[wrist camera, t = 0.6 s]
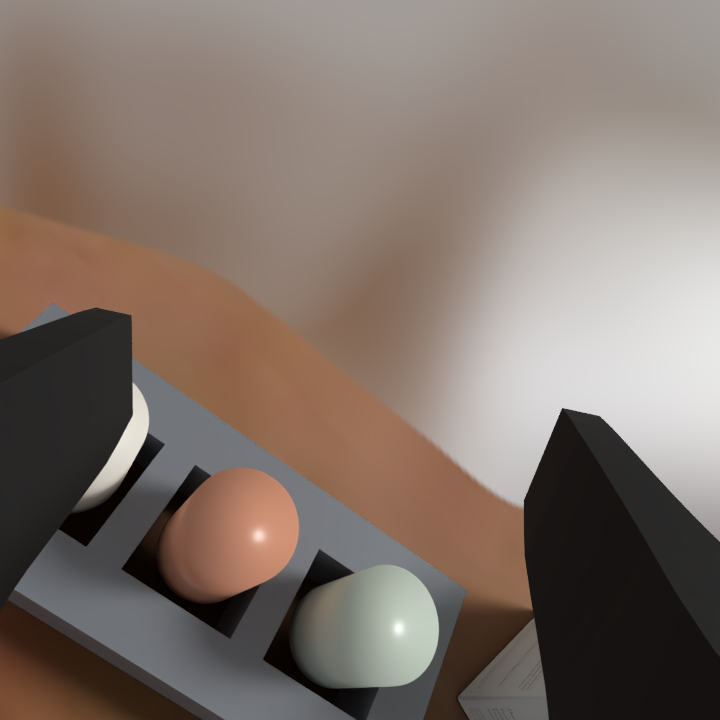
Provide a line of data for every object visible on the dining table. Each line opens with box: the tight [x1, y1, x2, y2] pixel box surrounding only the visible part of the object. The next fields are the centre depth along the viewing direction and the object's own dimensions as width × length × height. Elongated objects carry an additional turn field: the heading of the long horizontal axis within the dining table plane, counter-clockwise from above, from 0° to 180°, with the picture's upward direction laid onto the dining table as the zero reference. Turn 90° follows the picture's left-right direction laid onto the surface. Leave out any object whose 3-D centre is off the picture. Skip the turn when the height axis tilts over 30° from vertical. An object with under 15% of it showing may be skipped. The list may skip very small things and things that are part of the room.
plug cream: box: [70, 383, 149, 514], centre depth 22 cm, size 4×4×5 cm
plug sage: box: [289, 565, 439, 689], centre depth 23 cm, size 4×4×5 cm
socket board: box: [7, 303, 467, 720], centre depth 25 cm, size 9×21×4 cm, turn 63°
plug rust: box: [156, 468, 299, 604], centre depth 22 cm, size 4×4×5 cm
